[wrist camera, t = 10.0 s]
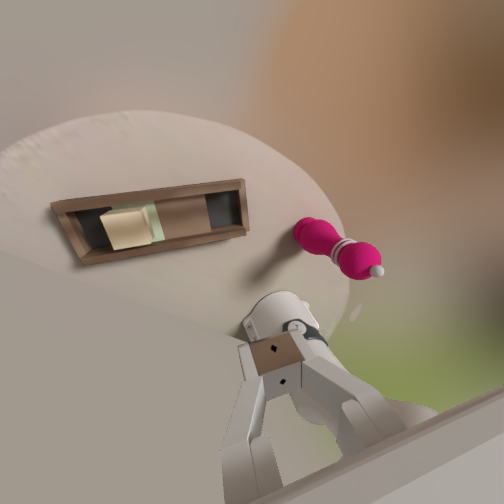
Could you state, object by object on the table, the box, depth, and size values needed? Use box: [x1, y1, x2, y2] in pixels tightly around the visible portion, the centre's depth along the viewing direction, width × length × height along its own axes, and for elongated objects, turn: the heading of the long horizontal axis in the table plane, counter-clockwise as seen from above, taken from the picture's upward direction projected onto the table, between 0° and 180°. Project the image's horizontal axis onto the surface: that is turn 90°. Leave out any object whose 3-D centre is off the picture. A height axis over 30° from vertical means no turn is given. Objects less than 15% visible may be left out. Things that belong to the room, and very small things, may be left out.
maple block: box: [100, 206, 155, 250], centre depth 29 cm, size 5×5×4 cm
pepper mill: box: [294, 217, 384, 280], centre depth 35 cm, size 7×7×20 cm
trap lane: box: [50, 179, 250, 266], centre depth 33 cm, size 9×28×4 cm, turn 95°
